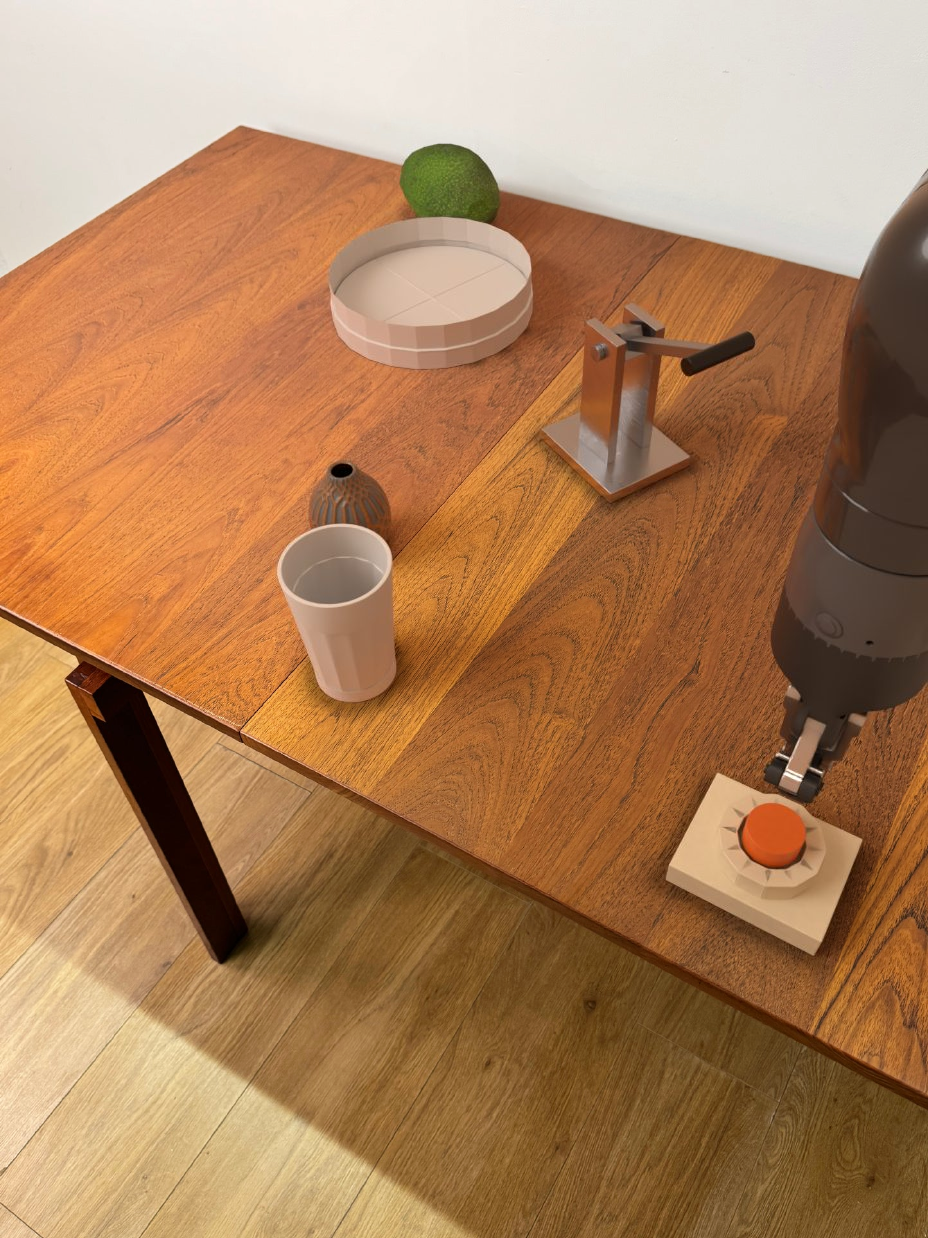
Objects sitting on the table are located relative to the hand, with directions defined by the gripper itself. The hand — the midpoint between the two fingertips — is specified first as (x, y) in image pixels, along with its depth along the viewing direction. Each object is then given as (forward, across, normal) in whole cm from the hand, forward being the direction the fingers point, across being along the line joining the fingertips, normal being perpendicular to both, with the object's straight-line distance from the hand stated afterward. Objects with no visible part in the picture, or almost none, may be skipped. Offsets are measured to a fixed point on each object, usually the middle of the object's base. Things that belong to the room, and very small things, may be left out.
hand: (797, 787), depth 58 cm
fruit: (+10, +60, +64) cm, 88 cm away
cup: (+10, 0, +33) cm, 35 cm away
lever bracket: (+10, +32, +28) cm, 44 cm away
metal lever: (-3, +30, +22) cm, 38 cm away
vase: (+10, +10, +41) cm, 44 cm away
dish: (+10, +44, +56) cm, 72 cm away
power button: (+6, 0, 0) cm, 6 cm away
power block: (+10, 0, 0) cm, 10 cm away
